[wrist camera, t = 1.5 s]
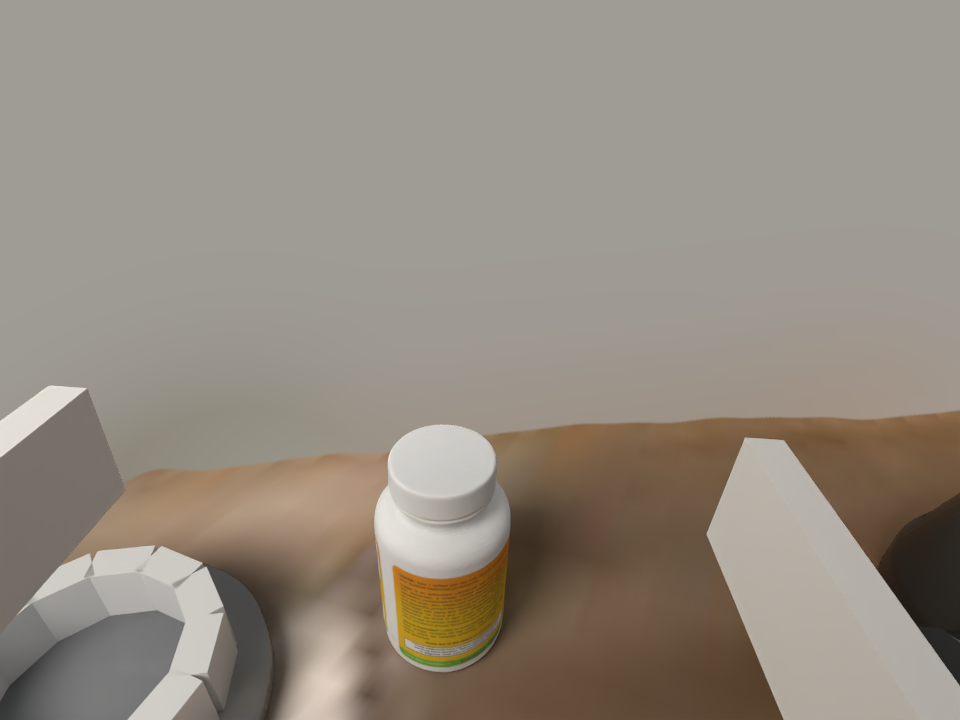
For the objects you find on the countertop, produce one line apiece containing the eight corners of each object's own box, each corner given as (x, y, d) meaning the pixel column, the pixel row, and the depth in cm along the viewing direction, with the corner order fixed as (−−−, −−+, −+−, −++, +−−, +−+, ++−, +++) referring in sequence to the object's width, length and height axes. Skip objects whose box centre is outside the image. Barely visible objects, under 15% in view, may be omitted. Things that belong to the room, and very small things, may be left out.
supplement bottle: (526, 626, 28) (547, 466, 22) (428, 705, 24) (421, 541, 19) (456, 548, 32) (458, 396, 26) (363, 606, 29) (341, 446, 23)
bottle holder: (332, 632, 27) (321, 576, 25) (65, 1042, 16) (-1, 1011, 14) (131, 547, 31) (106, 492, 29) (-194, 827, 20) (-279, 775, 18)
